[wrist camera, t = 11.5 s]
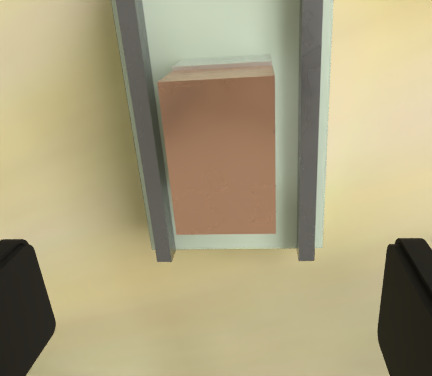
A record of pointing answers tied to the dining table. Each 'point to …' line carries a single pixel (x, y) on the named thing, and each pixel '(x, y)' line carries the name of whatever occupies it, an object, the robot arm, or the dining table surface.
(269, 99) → the block
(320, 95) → the stand
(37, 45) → the dining table surface
